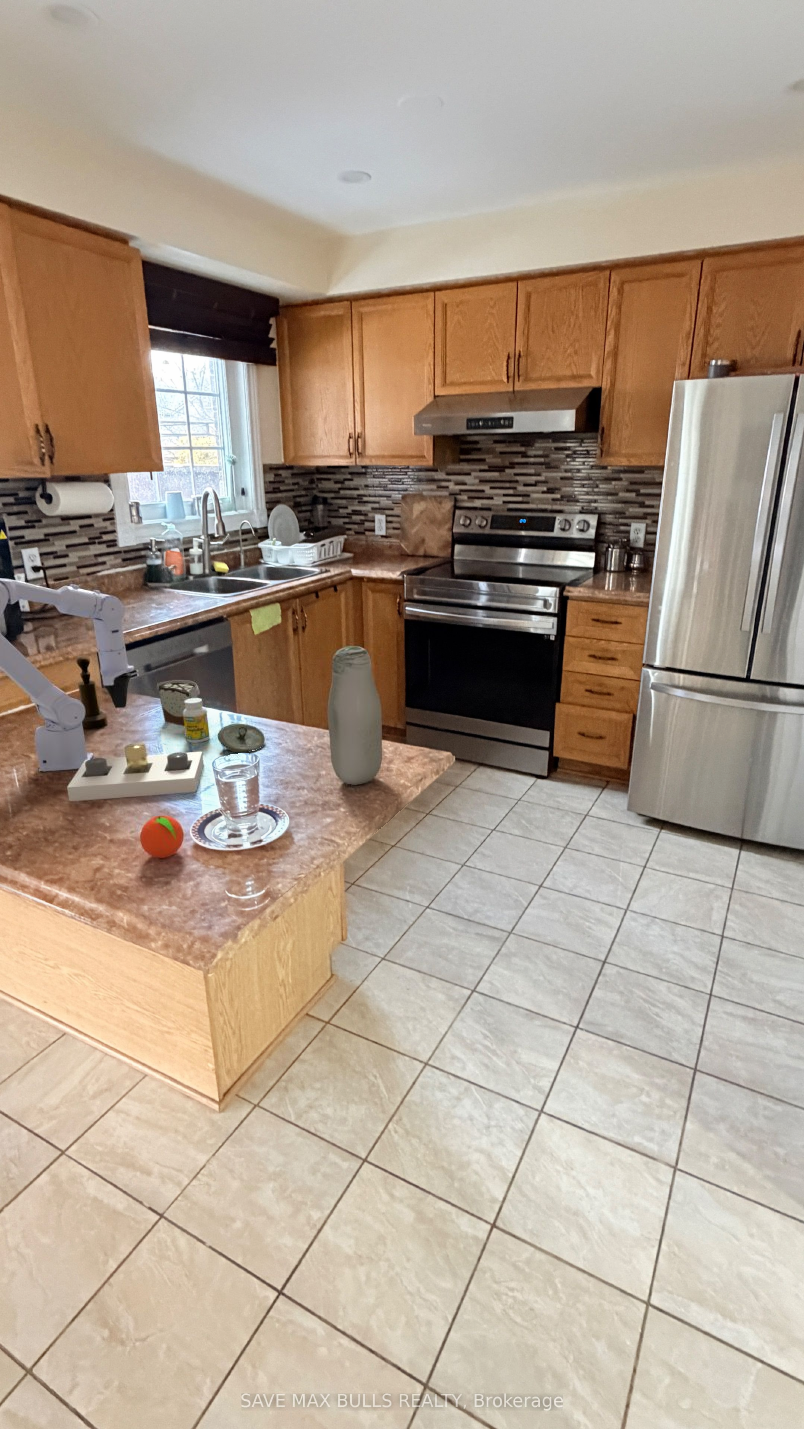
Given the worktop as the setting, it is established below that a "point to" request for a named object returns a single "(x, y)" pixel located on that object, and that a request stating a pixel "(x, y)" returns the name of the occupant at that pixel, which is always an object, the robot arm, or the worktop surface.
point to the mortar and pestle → (89, 697)
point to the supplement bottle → (195, 721)
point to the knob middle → (136, 758)
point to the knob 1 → (96, 767)
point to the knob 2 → (178, 761)
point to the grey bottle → (354, 717)
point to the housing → (136, 779)
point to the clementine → (161, 836)
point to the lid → (241, 737)
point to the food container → (176, 699)
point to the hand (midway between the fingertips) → (120, 706)
